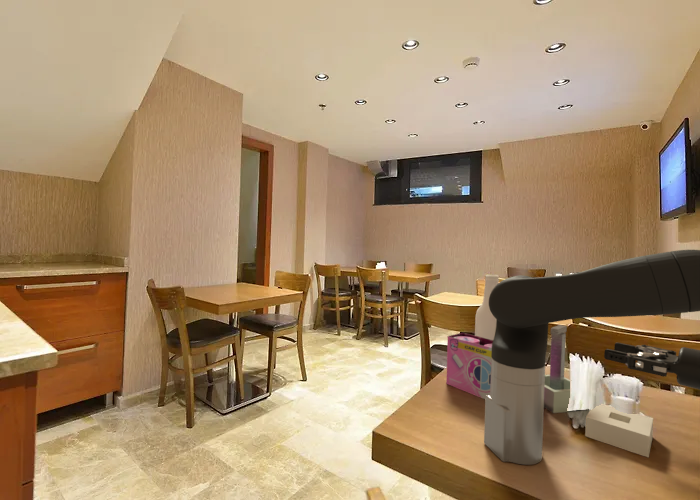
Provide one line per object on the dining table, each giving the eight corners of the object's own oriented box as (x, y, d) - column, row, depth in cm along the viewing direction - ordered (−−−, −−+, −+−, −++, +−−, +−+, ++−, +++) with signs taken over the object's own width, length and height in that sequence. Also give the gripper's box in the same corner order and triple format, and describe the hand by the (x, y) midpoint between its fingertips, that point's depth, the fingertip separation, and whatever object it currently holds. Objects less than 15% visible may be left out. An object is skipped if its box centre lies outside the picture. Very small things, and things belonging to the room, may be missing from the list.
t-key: (557, 403, 85) (559, 329, 85) (546, 399, 87) (548, 327, 87) (565, 396, 89) (568, 326, 89) (555, 393, 91) (557, 324, 90)
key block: (648, 457, 65) (649, 436, 65) (585, 436, 72) (585, 417, 72) (652, 437, 73) (653, 418, 73) (594, 419, 80) (595, 402, 80)
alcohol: (483, 365, 114) (486, 273, 113) (510, 373, 107) (513, 275, 106) (468, 371, 108) (471, 274, 108) (495, 380, 102) (498, 277, 101)
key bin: (553, 413, 82) (554, 392, 82) (524, 394, 92) (525, 375, 92) (589, 410, 84) (590, 389, 84) (557, 392, 94) (558, 374, 94)
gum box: (548, 409, 84) (549, 353, 84) (532, 419, 79) (534, 359, 79) (461, 377, 103) (463, 332, 103) (445, 384, 98) (446, 335, 98)
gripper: (716, 346, 72) (618, 329, 84) (711, 360, 63) (602, 338, 75) (713, 382, 72) (616, 360, 84) (708, 401, 63) (600, 373, 75)
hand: (609, 350), depth 80 cm, fingers open, 8 cm apart
